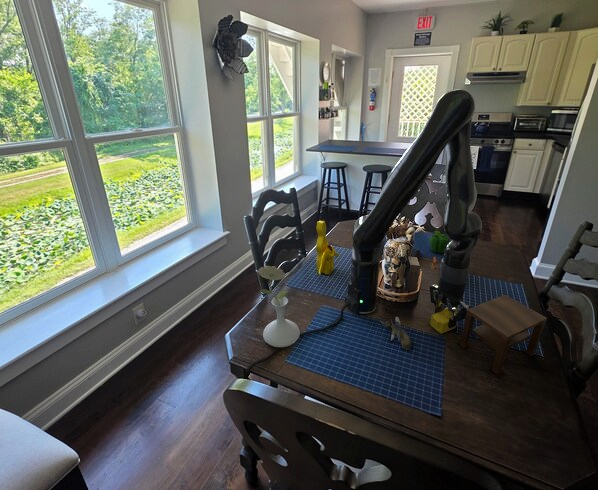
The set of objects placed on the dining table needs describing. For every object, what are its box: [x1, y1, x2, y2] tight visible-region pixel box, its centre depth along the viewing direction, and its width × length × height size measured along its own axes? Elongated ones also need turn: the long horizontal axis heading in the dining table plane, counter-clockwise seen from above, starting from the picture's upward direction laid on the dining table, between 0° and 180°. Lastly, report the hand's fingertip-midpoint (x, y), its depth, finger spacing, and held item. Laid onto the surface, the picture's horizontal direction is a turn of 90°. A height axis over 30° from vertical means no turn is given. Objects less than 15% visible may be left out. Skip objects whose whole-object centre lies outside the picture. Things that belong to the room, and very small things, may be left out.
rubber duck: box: [429, 307, 458, 335], centre depth 102 cm, size 8×5×6 cm, turn 115°
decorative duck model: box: [430, 255, 443, 271], centre depth 129 cm, size 15×8×15 cm
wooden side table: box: [458, 294, 548, 375], centre depth 91 cm, size 16×12×13 cm
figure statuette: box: [315, 220, 340, 275], centre depth 132 cm, size 18×8×22 cm, turn 148°
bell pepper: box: [429, 230, 451, 254], centre depth 147 cm, size 8×8×10 cm
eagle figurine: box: [380, 316, 413, 350], centre depth 97 cm, size 8×7×9 cm
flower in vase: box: [257, 265, 301, 349], centre depth 96 cm, size 13×11×25 cm
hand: (444, 321), depth 103 cm, fingers closed on rubber duck, 4 cm apart
